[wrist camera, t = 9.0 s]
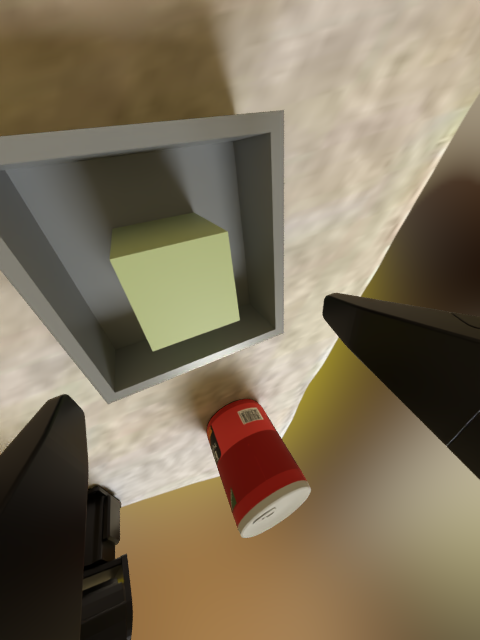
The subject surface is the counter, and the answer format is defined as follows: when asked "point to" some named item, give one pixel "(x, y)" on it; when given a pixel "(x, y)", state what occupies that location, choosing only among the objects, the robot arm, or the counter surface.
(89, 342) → the grey bin
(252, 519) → the canned food
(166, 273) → the green block
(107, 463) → the counter surface
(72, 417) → the robot arm
